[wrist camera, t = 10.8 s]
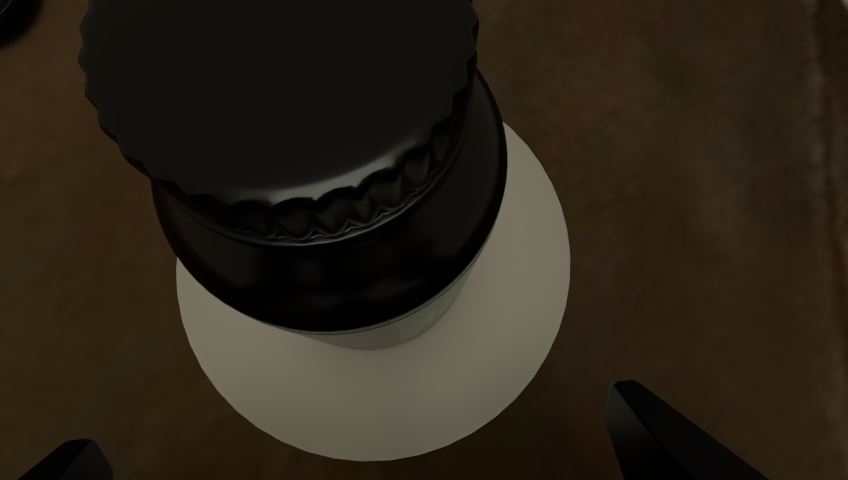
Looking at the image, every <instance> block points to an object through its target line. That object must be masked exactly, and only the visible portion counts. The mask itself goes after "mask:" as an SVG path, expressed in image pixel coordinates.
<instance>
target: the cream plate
mask: <svg viewBox="0 0 848 480" xmlns="http://www.w3.org/2000/svg"><path fill="white" fill-rule="evenodd" d="M503 125H504V129H505V136H506V143H507V155H508V168H507V181H506V187H505V192H504V197H503V201H502V204H501V208H500V211H499V215H498V218H497V220H496V223H495V225H494V228H493V230H492V233H491V235H490V237H489V239H488V241H487V243H486V245H485V247H484V249H483V250H482V252H481V254H480V256H479V258H478V260H477V262H476V263H475V265H474V267H473V269H472V271H471V273H470V275H469V276H468V278H467V280H466V282H465V284H464V286H463V287H462V289H461V291H460V293H459V295H458V297H457V298H456V300H455V301H454V303H453V304H452V306H451V307H450V309H449V310H448V311H447V312H446V313H445V315H444V316H443V317H442V318H441V319H440V320H439V321H438V322H437V323H436V324H435V325H433V326H432V327H431V328H430V329H429V330H427V331H426V332H424V333H423V334H421V335H420V336H418V337H416V338H414V339H412V340H410V341H408V342H405V343H403V344H400V345H397V346H394V347H390V348H385V349H379V350H354V349H347V348H342V347H337V346H333V345H330V344H327V343H324V342H320V341H317V340H314V339H311V338H307V337H304V336H301V335H297V334H294V333H291V332H288V331H284V330H281V329H278V328H275V327H272V326H269V325H266V324H263V323H261V322H258V321H256V320H254V319H252V318H249V317H247V316H245V315H243V314H242V313H240V312H238V311H236V310H235V309H233V308H231V307H229V306H228V305H226V304H224V303H223V302H221V301H220V300H219V299H217V298H216V297H215V296H213V295H212V294H210V293H209V292H208V291H207V290H206V289H205V288H204V287H203V286H201V285H200V284H199V283H198V282H197V281H196V280H195V279H194V278H193V276H192V275H191V274H190V273H189V272H188V271H187V270H186V269H185V267H184V266H183V264H182V263H181V262H180V260H179V259H178V257H177V267H176V274H177V295H178V301H179V306H180V312H181V317H182V321H183V324H184V327H185V330H186V333H187V336H188V339H189V342H190V345H191V347H192V349H193V351H194V353H195V355H196V357H197V359H198V361H199V363H200V365H201V367H202V369H203V370H204V372H205V373H206V375H207V376H208V378H209V379H210V380H211V382H212V383H213V385H214V386H215V388H216V389H217V390H218V392H219V393H220V394H221V395H222V396H223V397H224V398H225V399H226V400H227V401H228V402H229V403H230V404H231V405H232V407H233V408H234V409H235V410H236V411H238V412H239V413H240V414H241V415H243V416H244V417H245V418H246V419H248V420H249V421H250V422H251V423H253V424H254V425H255V426H256V427H258V428H259V429H261V430H263V431H265V432H266V433H268V434H270V435H271V436H273V437H275V438H277V439H278V440H280V441H282V442H284V443H287V444H289V445H292V446H294V447H297V448H299V449H302V450H304V451H307V452H310V453H314V454H318V455H322V456H326V457H331V458H335V459H345V460H355V461H382V460H395V459H400V458H405V457H411V456H416V455H421V454H424V453H427V452H430V451H433V450H436V449H439V448H442V447H445V446H447V445H449V444H451V443H453V442H455V441H457V440H459V439H461V438H463V437H465V436H467V435H469V434H471V433H473V432H474V431H476V430H477V429H479V428H480V427H482V426H483V425H485V424H486V423H488V422H489V421H491V420H492V419H493V418H495V417H496V416H497V415H498V414H499V413H500V412H502V411H503V410H504V409H505V408H506V407H507V406H508V405H509V404H510V403H511V402H513V401H514V400H515V399H516V398H517V397H518V395H519V394H520V393H521V392H522V391H523V389H524V388H525V387H526V386H527V385H528V383H529V382H530V381H531V380H532V379H533V377H534V376H535V374H536V372H537V371H538V369H539V368H540V366H541V364H542V363H543V361H544V360H545V358H546V356H547V355H548V353H549V350H550V348H551V346H552V344H553V342H554V339H555V337H556V335H557V333H558V330H559V327H560V324H561V320H562V317H563V313H564V310H565V307H566V301H567V295H568V288H569V281H570V250H569V242H568V233H567V228H566V224H565V220H564V216H563V212H562V208H561V205H560V203H559V200H558V198H557V195H556V193H555V190H554V188H553V185H552V183H551V181H550V180H549V178H548V176H547V174H546V173H545V171H544V169H543V167H542V165H541V164H540V162H539V161H538V160H537V158H536V157H535V156H534V154H533V153H532V152H531V150H530V149H529V148H528V146H527V145H526V144H525V143H524V142H523V141H522V140H521V139H520V138H519V136H518V135H517V134H516V133H515V132H514V131H513V130H512V129H511V128H510V127H509V126H507V125H506V124H505V123H504V122H503Z"/></svg>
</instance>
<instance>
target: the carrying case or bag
mask: <svg viewBox="0 0 848 480" xmlns="http://www.w3.org/2000/svg"><path fill="white" fill-rule="evenodd" d="M32 1H33V0H0V36H2V35H5V34H7V33H9V32H11V31H13V30H14V29H15V28H16V27H17V26H18V24H19V23H20V21H21V19H22V16H23V14H24V10H25V6H26V2H32Z"/></svg>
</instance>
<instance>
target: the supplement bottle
mask: <svg viewBox="0 0 848 480" xmlns="http://www.w3.org/2000/svg"><path fill="white" fill-rule="evenodd" d="M88 2H89V10H88V12H87V14H86V15H85V17H84V18H83V20H82V22H81V24H80V26H79V28H80V34H81V36H82V38H83V45H82V48H81V50H80V53H79V56H78V62H79V64H80V66H81V68H82V70H83V71H84V72H85V74H86V82H85V96H86V97H87V98H88V100H89V101H90V102H91V103H92V104H93V105H94V107H95V108H96V109H97V114H98V120H99V125H100V127H101V129H102V130H103V131H104V133H105V134H106V135H107V136H108V137H110V138H111V139H112V140H113V141H115V142H116V143H117V144H118V146H119V148H120V150H121V153H122V155H123V156H124V158H125V159H126V160H127V161H128V163H130V164H131V165H132V166H133V167H135V168H136V169H137V170H139V171H140V172H141V173H143V174H144V175H146V176H147V177H148V178H150V179H151V189H152V195H153V201H154V205H155V209H156V212H157V216H158V219H159V222H160V225H161V227H162V230H163V232H164V235H165V237H166V239H167V241H168V242H169V244H170V246H171V248H172V250H173V252H174V253H175V254H176V256H177V257H178V259H179V260H180V262H181V263H182V264H183V266H184V267H185V269H186V270H187V271H188V272H189V273H190V274H191V275H192V276H193V278H194V279H195V280H196V281H197V282H198V283H199V284H200V285H201V286H203V287H204V288H205V289H206V290H207V291H208V292H209V293H210V294H212V295H213V296H215V297H216V298H217V299H219V300H220V301H221V302H223V303H224V304H226V305H228V306H229V307H231V308H233V309H235V310H236V311H238V312H240V313H242V314H243V315H245V316H247V317H249V318H252V319H254V320H256V321H258V322H261V323H263V324H266V325H269V326H272V327H275V328H278V329H281V330H284V331H288V332H291V333H294V334H297V335H301V336H304V337H307V338H311V339H314V340H317V341H320V342H324V343H327V344H330V345H333V346H337V347H342V348H347V349H354V350H379V349H385V348H390V347H394V346H397V345H400V344H403V343H405V342H408V341H410V340H412V339H414V338H416V337H418V336H420V335H421V334H423V333H424V332H426V331H427V330H429V329H430V328H431V327H432V326H433V325H435V324H436V323H437V322H438V321H439V320H440V319H441V318H442V317H443V316H444V315H445V313H446V312H447V311H448V310H449V309H450V307H451V306H452V304H453V303H454V301H455V300H456V298H457V297H458V295H459V293H460V291H461V289H462V287H463V286H464V284H465V282H466V280H467V278H468V276H469V275H470V273H471V271H472V269H473V267H474V265H475V263H476V262H477V260H478V258H479V256H480V254H481V252H482V250H483V249H484V247H485V245H486V243H487V241H488V239H489V237H490V235H491V233H492V230H493V228H494V225H495V223H496V220H497V218H498V215H499V211H500V208H501V204H502V201H503V197H504V192H505V187H506V181H507V168H508V155H507V143H506V136H505V129H504V125H503V121H502V118H501V114H500V111H499V108H498V106H497V103H496V100H495V98H494V96H493V94H492V92H491V90H490V88H489V86H488V84H487V82H486V81H485V79H484V78H483V76H482V74H481V73H480V71H479V70H478V68H477V67H476V65H477V52H476V41H477V36H478V29H479V21H478V16H477V14H476V12H475V9H474V7H473V6H472V0H88Z"/></svg>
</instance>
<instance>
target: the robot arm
mask: <svg viewBox="0 0 848 480" xmlns="http://www.w3.org/2000/svg"><path fill="white" fill-rule="evenodd" d="M605 421H606V426H607V429H608V432H609V435H610V438H611V441H612V444H613V447H614V450H615V453H616V456H617V459H618V462H619V465H620V468H621V471H622V474H623V477H624V480H769V479H768V478H767V477H765V476H764V475H762V474H761V473H760V472H758V471H757V470H756V469H754V468H753V467H752V466H750V465H749V464H748V463H746V462H745V461H744V460H742V459H741V458H740V457H738V456H737V455H736V454H734V453H733V452H731V451H730V450H729V449H727V448H726V447H725V446H723V445H722V444H721V443H719V442H718V441H717V440H715V439H714V438H713V437H711V436H710V435H709V434H707V433H706V432H705V431H703V430H702V429H701V428H699V427H698V426H696V425H695V424H694V423H692V422H691V421H690V420H688V419H687V418H686V417H684V416H683V415H682V414H680V413H679V412H678V411H676V410H675V409H674V408H672V407H671V406H670V405H668V404H667V403H665V402H664V401H663V400H661V399H660V398H659V397H657V396H656V395H655V394H653V393H652V392H651V391H649V390H648V389H647V388H645V387H644V386H643V385H641V384H640V383H638V382H636V381H634V380H627V381H618V382H613V383H612V384H611V385H610V388H609V393H608V399H607V405H606V411H605ZM18 480H113V469H112V466H111V464H110V463H109V461H108V459H107V458H106V456H105V454H104V453H103V451H102V449H101V448H100V446H99V444H98V443H97V442H96V441H95V440H93V439H90V438H87V439H78V440H70V441H67V442H65V443H63V444H62V445H60V446H59V447H58V448H56V449H55V450H54V451H53V452H51V453H50V454H49V455H48V456H47V457H45V458H44V459H43V460H42V461H40V462H39V463H38V464H37V465H35V466H34V467H33V468H32V469H30V470H29V471H28V472H27V473H25V474H24V475H23V476H22V477H20V478H19V479H18Z"/></svg>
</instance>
